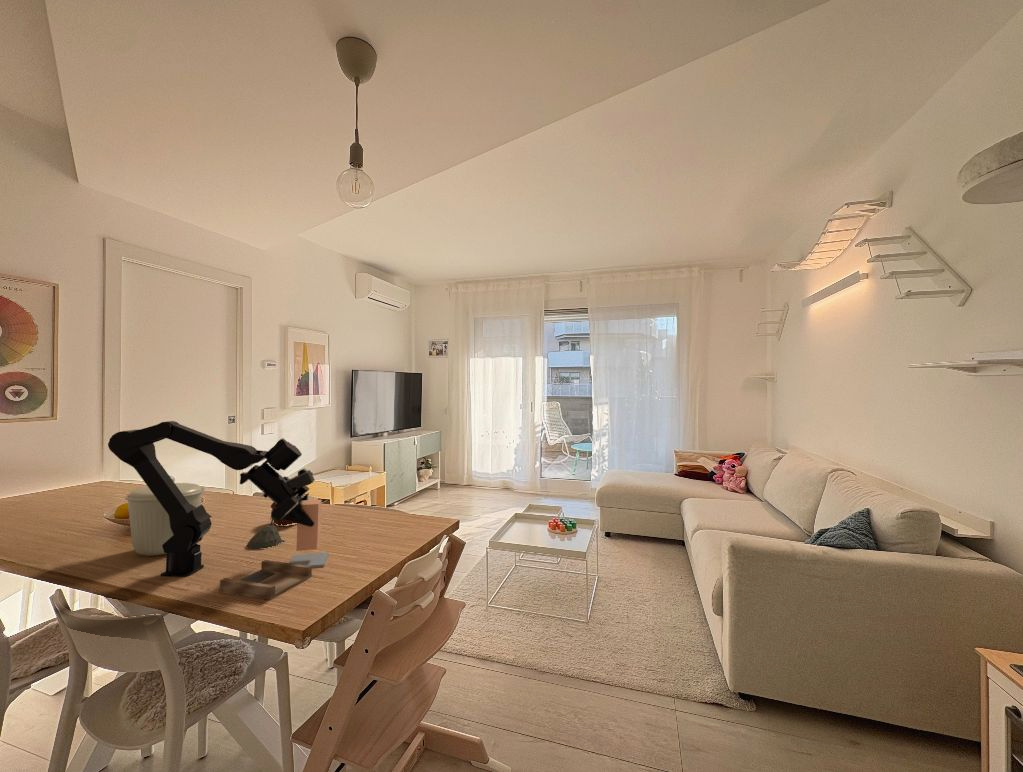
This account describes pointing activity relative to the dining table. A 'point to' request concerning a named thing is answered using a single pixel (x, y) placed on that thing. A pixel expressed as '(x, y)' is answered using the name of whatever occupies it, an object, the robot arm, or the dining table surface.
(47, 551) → the dining table surface
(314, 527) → the terracotta block
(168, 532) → the canister
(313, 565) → the slate mat
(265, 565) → the walnut channel
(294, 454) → the robot arm
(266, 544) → the sword in stone
